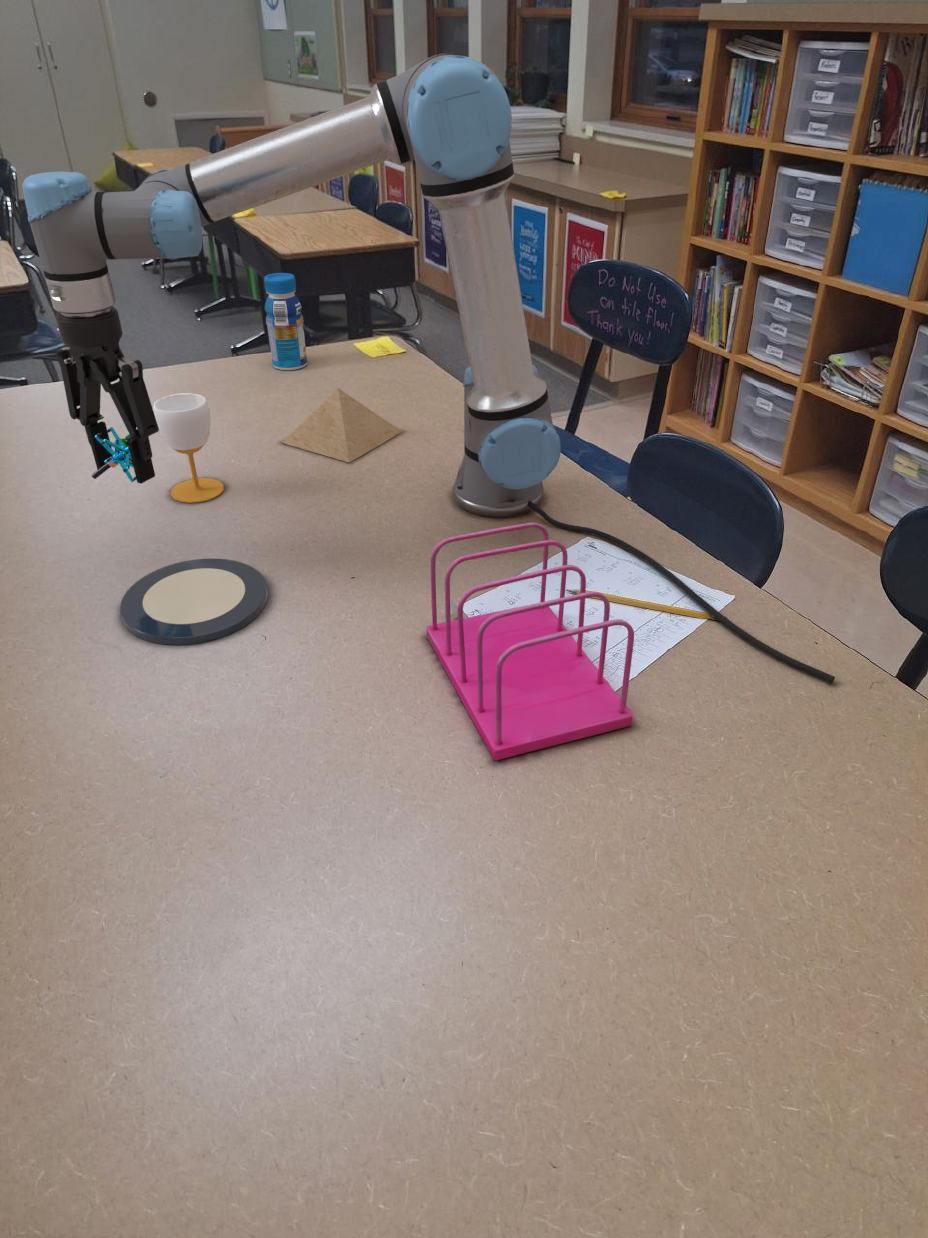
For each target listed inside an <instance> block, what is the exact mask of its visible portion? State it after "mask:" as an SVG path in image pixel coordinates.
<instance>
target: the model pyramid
mask: <svg viewBox="0 0 928 1238" xmlns="http://www.w3.org/2000/svg"><path fill="white" fill-rule="evenodd" d="M402 432H403V431H402V430H400V429H399V428H398V427H396V426H394V425H393V424H392V423H391V422H389V421H387V420H386V419H385V418H383V417H382V416H380V415H379V414H377V413H375V412H374V411H372V410H371V409H370V408H368V407H367V406H365V405H364V404H363V403H361V402H360V401H358V400H357V399H355V398H354V397H352V395H351V396H350V395H349V394H348V393H346V392H345V391H344V390H342V389H341V388H339V387H337V389H335V390H334V391H333V392H332V394H330V395H329V396H328V397H327V398H326V399H325V400H324V401H323V402H322V403H321V404H320V405H319V406H318V407H317V408H316V409H314V411H312V413H311V414H310V415H309V416H307V418H305V420H303V421H302V423H301V424H299V425H298V426H297V427H296V428H295V429H294V430H293V431H292V432H291V433H290V434H289V435H288V436H287V437H286V438H285V439H284V440H282V442H281V443H282V444H285V445H287V446H292V447H295V448H298V449H301V450H305V451H309V452H312V453H315V454H319V455H322V456H326V457H329V458H333V459H336V460H338V461H343V462H346V463H351V462H353V461H355V460H356V459H358V458H360V457H362V456H363V455H365V454H367V453H368V452H370V451H372V450H373V449H375V448H377V447H378V446H380V445H382V444H384V443H385V442H387V441H389V440H391V439H392V438H394V437H396V436H398V435H399V434H401V433H402Z"/></svg>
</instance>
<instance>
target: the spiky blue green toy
mask: <svg viewBox="0 0 928 1238" xmlns="http://www.w3.org/2000/svg"><path fill="white" fill-rule="evenodd" d="M107 432H108V434H110V433H112V434H111V435H113V437H114V438H115V440H114V441H111V440H110V441H109V440H107V439H104V440H102V439H101V438H100V437H99V436H100V435H101V433H98V434H97V435H96V436H95V438H96V439H97V440H98V441H99V442H100V443H101V445H103V446H104V447H105V448H106V449H107V450H108V451H109V452H110V453H111V454H112V455H113V456H111V457H109V458H108V459H107V460H105V461H104V462H105V463H106V464H105V465H103V466H102V467H101V468H99V469H98V470H95V471H94V472H93V473H92V474H91V478H93V479H94V480H97V479H98V478H99V477H100V476H101V475H102V474H104V473H105V472H106V471H108V470H109V469H110V468H113V469H114V468H116V467H117V466H118V465H119V466H120V467H121V469H122V471H123V473H125V475H126V476H127V478H128V479H129V481H130V482H131V483H134V482H135V481H137V479H136V476H134V477H133V476H132V474H131V472H130V469H131V468H133V469H134V467H133V463H132V459H131V455H130V451H129V446H128V442H127V438H129V437H131V436H130V434H129V433H128V434H127V435H126V436H125V437H124V438H121V437H120V436H119V435H118V433H117V432H116V430H115V429H114V427H113V426H111V427H109V428H107ZM106 443H107V444H109V445H110V446H111V447H112V448H110V447H109V446H108V445H107V444H106ZM113 448H114V449H113Z"/></svg>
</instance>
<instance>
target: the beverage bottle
mask: <svg viewBox="0 0 928 1238" xmlns="http://www.w3.org/2000/svg"><path fill="white" fill-rule="evenodd" d="M263 279H264V280H263V281H264V289H265V292H266V294H268V296H267V297H266V300H265V304H264V311H265V313H266V316H265V325H266V327H267V334H268V341H269V348H270V355H271V364H272V367H273V368H275V370H276V369H277V370H280V371H295V370H296V371H297V370H299V369H303V368H305V367H306V366H307V364H308V357H307V356H308V355H307V348H306V339H305V337H306V336H305V329H304V322H305V321H304V316H303V314H302V304H301V301H300V299H299V298H298V296H297V295H296V294H295V293H296V291H297V283H296V276H295V275H294V274H292V273H288V272H276V273H269V274H267V275H265V276H264V278H263Z"/></svg>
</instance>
